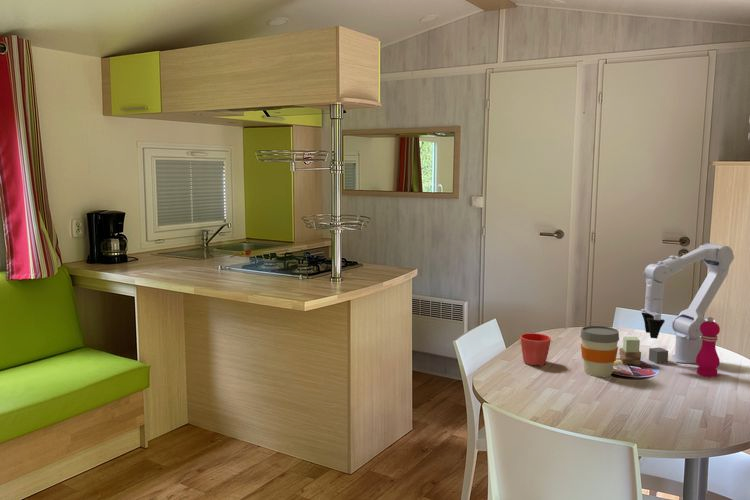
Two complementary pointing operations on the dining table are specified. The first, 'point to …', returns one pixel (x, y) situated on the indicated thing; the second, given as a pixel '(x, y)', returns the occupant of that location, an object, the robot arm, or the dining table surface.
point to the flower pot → (535, 348)
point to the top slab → (629, 354)
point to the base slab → (630, 361)
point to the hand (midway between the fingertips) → (651, 335)
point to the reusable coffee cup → (599, 349)
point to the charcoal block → (658, 355)
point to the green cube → (631, 344)
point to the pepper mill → (708, 349)
